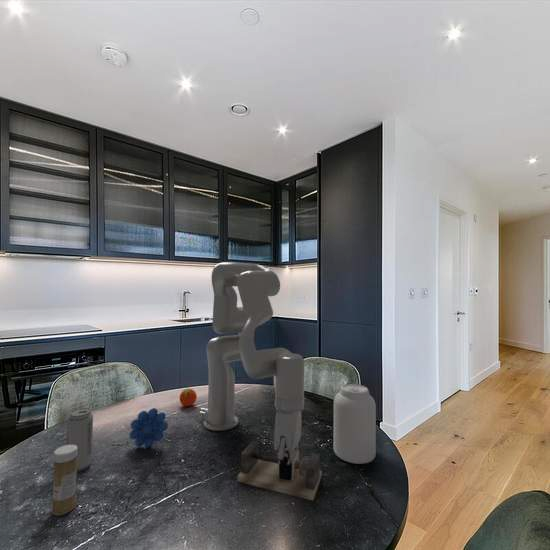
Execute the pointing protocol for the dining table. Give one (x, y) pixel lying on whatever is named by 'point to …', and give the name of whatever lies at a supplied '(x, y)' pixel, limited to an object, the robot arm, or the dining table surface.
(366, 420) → the can
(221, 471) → the dining table surface
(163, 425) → the grapes
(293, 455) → the sleeve
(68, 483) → the pill bottle
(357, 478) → the dining table surface
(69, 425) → the energy drink can
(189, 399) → the clementine
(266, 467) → the small bench vise
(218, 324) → the robot arm
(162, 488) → the dining table surface
